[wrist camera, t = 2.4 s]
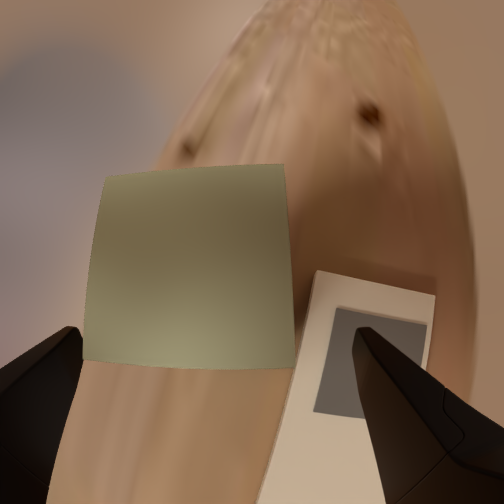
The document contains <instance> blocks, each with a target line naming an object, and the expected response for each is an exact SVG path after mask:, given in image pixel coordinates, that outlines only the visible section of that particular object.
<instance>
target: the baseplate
mask: <svg viewBox="0 0 504 504" xmlns="http://www.w3.org/2000/svg"><path fill="white" fill-rule="evenodd" d="M434 305H435V295H430V294H426V293H421V292H416V291H412V290H407V289H403V288H398V287H393V286H389V285H384V284H380V283H375V282H370V281H366V280H361V279H357V278H352V277H348V276H343V275H339V274H334V273H329V272H325V271H320V270H317V271H316V273H315V274H314V278H313V283H312V288H311V293H310V298H309V303H308V308H307V312H306V317H305V322H304V326H303V331H302V335H301V340H300V344H299V348H298V353H297V357H296V368H294V369H293V373H292V377H291V381H290V385H289V389H288V393H287V397H286V401H285V405H284V409H283V412H282V416H281V420H280V423H279V427H278V430H277V434H276V437H275V441H274V444H273V448H272V451H271V455H270V458H269V461H268V464H267V468H266V471H265V474H264V477H263V481H262V484H261V487H260V490H259V493H258V496H257V499H256V502H255V504H386V502H385V498H384V493H383V489H382V484H381V480H380V476H379V471H378V467H377V463H376V459H375V455H374V451H373V447H372V443H371V439H370V435H369V431H368V428H367V424H366V420H365V417H364V413H363V409H362V406H361V402H360V398H359V394H358V388H357V381H356V375H355V369H354V363H353V357H352V345H353V340H354V335H355V331H356V329H357V328H358V327H366V326H369V327H371V328H373V329H374V330H375V331H376V332H378V333H379V334H380V335H381V336H383V337H384V338H385V339H386V340H388V341H389V342H390V343H391V344H393V345H394V346H395V347H396V348H398V349H399V350H400V351H401V352H403V353H404V354H405V355H406V356H408V357H409V358H410V359H411V360H413V361H414V362H415V363H416V364H418V365H419V366H420V367H421V368H423V369H424V370H425V371H426V365H427V359H428V353H429V347H430V340H431V333H432V324H433V315H434Z"/></svg>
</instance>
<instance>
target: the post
mask: <svg viewBox="0 0 504 504" xmlns="http://www.w3.org/2000/svg"><path fill="white" fill-rule="evenodd" d="M83 359H85V360H93V361H100V362H109V363H118V364H128V365H139V366H152V367H167V368H187V369H279V368H296V361H295V332H294V308H293V288H292V269H291V252H290V237H289V223H288V209H287V196H286V184H285V172H284V164H256V165H232V166H213V167H198V168H185V169H173V170H162V171H152V172H143V173H134V174H125V175H117V176H110V177H106V178H105V182H104V187H103V191H102V196H101V200H100V205H99V210H98V215H97V221H96V227H95V233H94V238H93V244H92V251H91V259H90V266H89V273H88V282H87V292H86V303H85V315H84V332H83Z"/></svg>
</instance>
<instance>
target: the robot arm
mask: <svg viewBox="0 0 504 504" xmlns="http://www.w3.org/2000/svg"><path fill="white" fill-rule="evenodd" d="M352 357H353V363H354V369H355V375H356V381H357V388H358V394H359V398H360V402H361V406H362V409H363V413H364V417H365V420H366V424H367V428H368V431H369V435H370V439H371V443H372V447H373V451H374V455H375V459H376V463H377V467H378V471H379V476H380V480H381V484H382V489H383V493H384V498H385V502H386V504H504V428H503V427H501V426H500V425H498V424H497V423H495V422H494V421H492V420H491V419H489V418H488V417H486V416H484V415H483V414H481V413H480V412H478V411H477V410H475V409H474V408H473V407H471V406H470V405H468V404H467V403H465V402H464V401H463V400H462V399H460V398H459V397H458V396H456V395H455V394H454V393H453V392H451V391H450V390H449V389H448V388H445V386H444V385H443V384H441V383H440V382H439V381H438V380H436V379H435V378H434V377H433V376H431V375H430V374H429V373H428V372H426V371H425V370H424V369H423V368H421V367H420V366H419V365H418V364H416V363H415V362H414V361H413V360H411V359H410V358H409V357H408V356H406V355H405V354H404V353H403V352H401V351H400V350H399V349H398V348H396V347H395V346H394V345H393V344H391V343H390V342H389V341H388V340H386V339H385V338H384V337H383V336H381V335H380V334H379V333H378V332H376V331H375V330H374V329H373V328H371V327H369V326H366V327H358V328H357V329H356V331H355V335H354V340H353V345H352ZM83 361H84V359H83V338H82V336H81V334H80V331H79V329H78V328H77V327H72V326H66V327H64V328H63V329H61V330H60V331H58V332H56V333H55V334H53V335H52V336H50V337H49V338H47V339H45V340H44V341H42V342H41V343H39V344H38V345H36V346H35V347H33V348H31V349H30V350H28V351H27V352H25V353H24V354H22V355H20V356H19V357H17V358H16V359H14V360H13V361H11V362H10V363H8V364H7V365H5V366H4V367H2V368H1V369H0V504H46V500H47V495H48V490H49V487H48V486H49V485H50V480H51V476H52V472H53V468H54V463H55V459H56V456H57V452H58V448H59V444H60V441H61V437H62V434H63V430H64V427H65V423H66V420H67V417H68V414H69V410H70V407H71V404H72V401H73V398H74V395H75V392H76V389H77V385H78V381H79V377H80V373H81V369H82V365H83Z"/></svg>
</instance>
